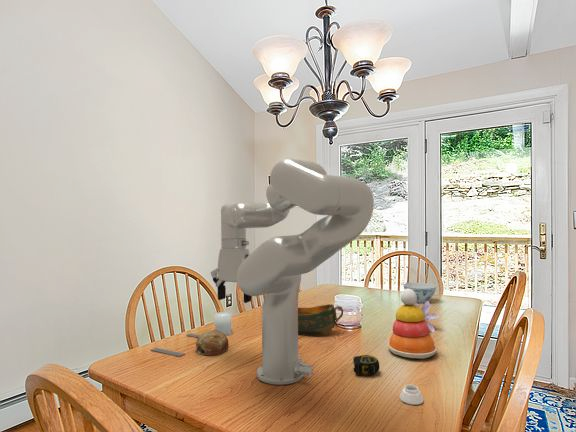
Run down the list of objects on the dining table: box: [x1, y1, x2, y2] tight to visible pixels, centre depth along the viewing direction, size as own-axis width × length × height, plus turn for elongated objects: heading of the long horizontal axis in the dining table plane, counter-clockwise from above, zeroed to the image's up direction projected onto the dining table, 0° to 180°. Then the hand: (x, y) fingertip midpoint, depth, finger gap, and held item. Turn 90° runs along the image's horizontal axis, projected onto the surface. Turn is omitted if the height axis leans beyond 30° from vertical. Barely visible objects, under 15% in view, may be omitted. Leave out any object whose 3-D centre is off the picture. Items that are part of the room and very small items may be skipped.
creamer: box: [298, 303, 344, 337], centre depth 131 cm, size 13×20×10 cm, turn 50°
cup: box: [214, 311, 233, 337], centre depth 131 cm, size 6×6×7 cm
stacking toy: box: [387, 289, 438, 360], centre depth 111 cm, size 14×14×20 cm
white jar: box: [399, 384, 424, 406], centre depth 82 cm, size 5×3×5 cm
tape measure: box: [353, 354, 380, 376], centre depth 97 cm, size 7×7×4 cm
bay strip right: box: [186, 333, 201, 339], centre depth 127 cm, size 12×2×1 cm, turn 63°
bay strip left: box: [150, 347, 185, 358], centre depth 113 cm, size 12×2×1 cm, turn 63°
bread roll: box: [195, 329, 229, 357], centre depth 115 cm, size 10×10×8 cm
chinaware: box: [403, 282, 437, 304], centre depth 178 cm, size 15×15×8 cm
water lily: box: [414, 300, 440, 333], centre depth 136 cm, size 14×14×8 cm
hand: (234, 300), depth 111 cm, fingers open, 9 cm apart
